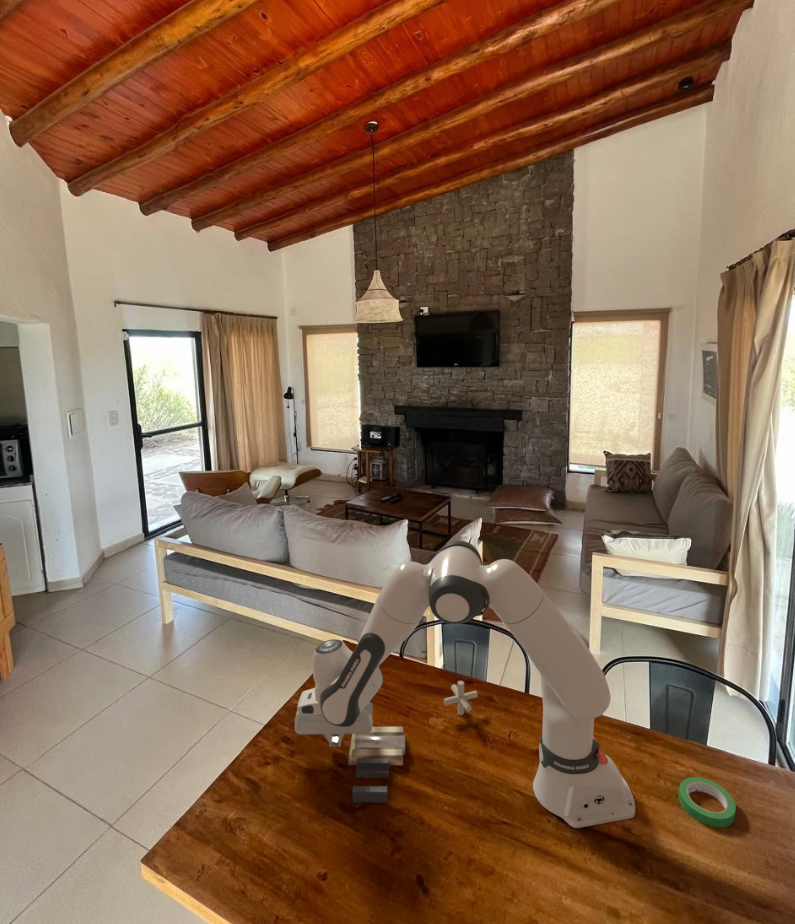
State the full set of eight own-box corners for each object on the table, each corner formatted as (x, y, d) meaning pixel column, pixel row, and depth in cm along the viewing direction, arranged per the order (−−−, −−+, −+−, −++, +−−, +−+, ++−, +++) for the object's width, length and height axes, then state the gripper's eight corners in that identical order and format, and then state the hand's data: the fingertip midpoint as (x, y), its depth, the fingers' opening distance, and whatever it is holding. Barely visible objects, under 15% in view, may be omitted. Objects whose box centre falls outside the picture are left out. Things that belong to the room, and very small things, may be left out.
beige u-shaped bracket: (403, 736, 141) (403, 726, 141) (402, 765, 131) (402, 755, 131) (352, 736, 142) (352, 726, 141) (348, 765, 132) (347, 755, 131)
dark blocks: (388, 768, 131) (388, 758, 130) (386, 802, 121) (386, 791, 120) (357, 768, 131) (356, 758, 130) (352, 802, 121) (352, 791, 120)
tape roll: (701, 832, 112) (703, 822, 111) (667, 790, 123) (669, 780, 122) (746, 823, 114) (748, 814, 113) (709, 783, 124) (710, 773, 124)
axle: (405, 742, 138) (404, 731, 136) (405, 758, 134) (404, 747, 132) (356, 743, 139) (355, 731, 137) (355, 758, 135) (354, 747, 133)
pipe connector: (468, 698, 156) (468, 668, 153) (484, 720, 146) (484, 689, 144) (438, 706, 153) (437, 676, 150) (452, 729, 143) (452, 697, 141)
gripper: (373, 691, 136) (375, 736, 139) (296, 691, 137) (300, 736, 140) (371, 707, 130) (373, 754, 133) (291, 708, 131) (295, 754, 134)
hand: (335, 745), depth 137 cm, fingers closed
